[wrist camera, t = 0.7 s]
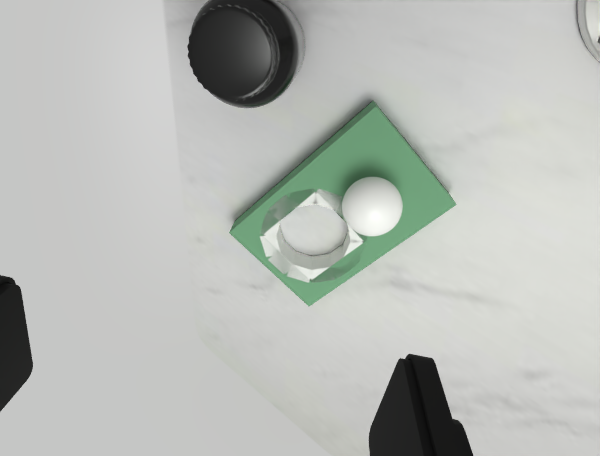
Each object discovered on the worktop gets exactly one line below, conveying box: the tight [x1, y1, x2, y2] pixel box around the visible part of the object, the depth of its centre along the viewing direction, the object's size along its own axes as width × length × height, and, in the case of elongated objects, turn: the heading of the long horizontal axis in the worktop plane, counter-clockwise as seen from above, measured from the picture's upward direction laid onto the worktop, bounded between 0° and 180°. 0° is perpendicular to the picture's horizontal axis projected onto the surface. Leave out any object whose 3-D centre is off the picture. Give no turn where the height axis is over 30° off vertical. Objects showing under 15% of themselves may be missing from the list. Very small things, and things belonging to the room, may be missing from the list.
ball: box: [342, 177, 403, 236], centre depth 32 cm, size 5×5×5 cm
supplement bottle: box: [187, 0, 305, 108], centre depth 27 cm, size 7×7×12 cm
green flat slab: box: [229, 101, 456, 306], centre depth 37 cm, size 17×11×2 cm, turn 133°
